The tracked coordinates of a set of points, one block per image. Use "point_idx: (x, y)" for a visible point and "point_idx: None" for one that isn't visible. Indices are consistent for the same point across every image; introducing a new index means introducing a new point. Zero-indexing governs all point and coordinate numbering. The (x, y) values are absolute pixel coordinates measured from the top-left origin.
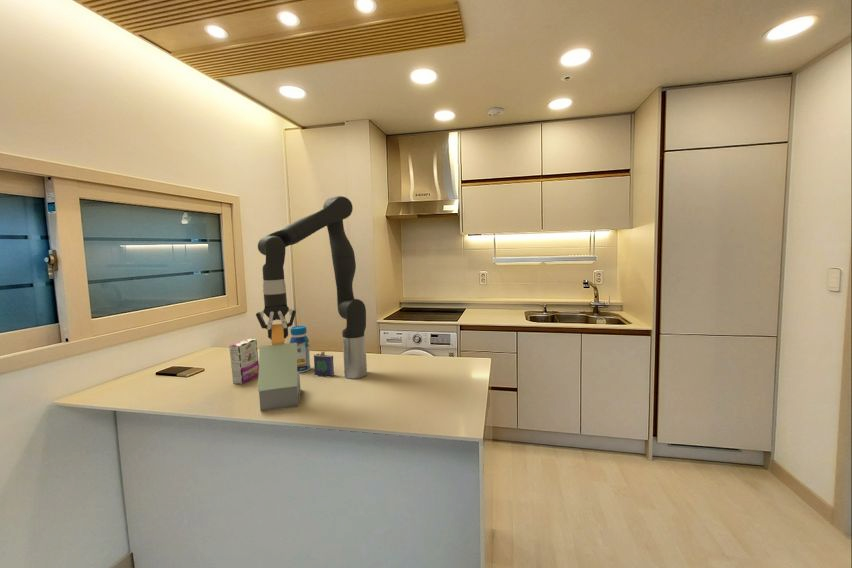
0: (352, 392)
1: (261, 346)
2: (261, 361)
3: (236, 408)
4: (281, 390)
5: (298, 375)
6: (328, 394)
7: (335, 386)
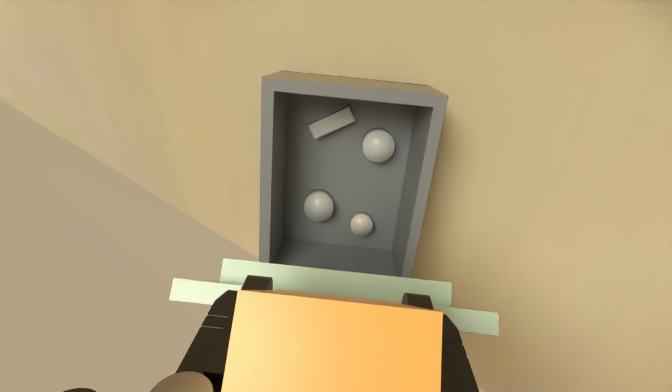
0: (616, 218)
1: (187, 301)
2: None
3: (186, 174)
4: None
5: (434, 156)
6: (524, 195)
7: (584, 116)
